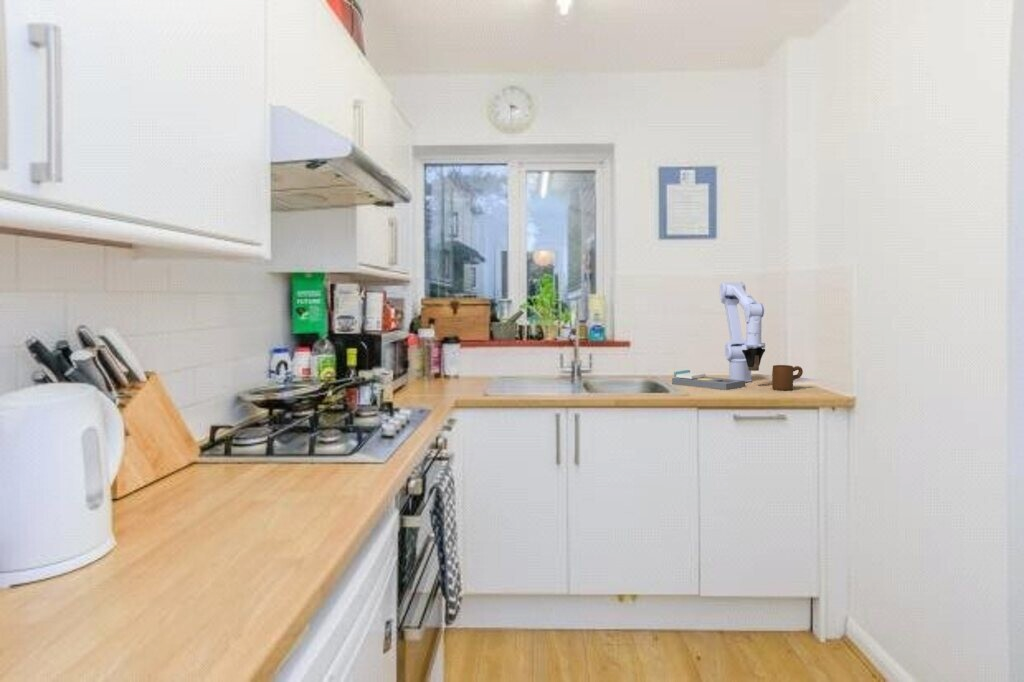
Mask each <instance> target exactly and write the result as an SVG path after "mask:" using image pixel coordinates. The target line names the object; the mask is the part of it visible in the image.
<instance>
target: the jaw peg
mask: <svg viewBox="0 0 1024 682" xmlns="http://www.w3.org/2000/svg"><path fill="white" fill-rule="evenodd" d="M748 370H750V371H751V372H752V371H754V372H756V371H759V370H760V365H759V355H755V359H754V366H753V367H748Z"/></svg>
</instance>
